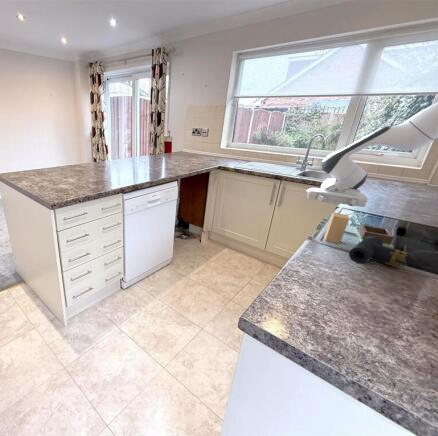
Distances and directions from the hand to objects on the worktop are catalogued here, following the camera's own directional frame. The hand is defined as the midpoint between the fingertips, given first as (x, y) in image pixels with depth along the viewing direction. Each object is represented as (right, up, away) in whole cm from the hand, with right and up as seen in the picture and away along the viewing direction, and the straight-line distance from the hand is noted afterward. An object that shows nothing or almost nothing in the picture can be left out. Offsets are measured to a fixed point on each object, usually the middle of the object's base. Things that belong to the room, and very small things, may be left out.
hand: (337, 202), depth 98 cm
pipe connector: (-1, -20, -18) cm, 27 cm away
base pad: (+10, -15, -5) cm, 18 cm away
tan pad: (-6, -15, -5) cm, 17 cm away
